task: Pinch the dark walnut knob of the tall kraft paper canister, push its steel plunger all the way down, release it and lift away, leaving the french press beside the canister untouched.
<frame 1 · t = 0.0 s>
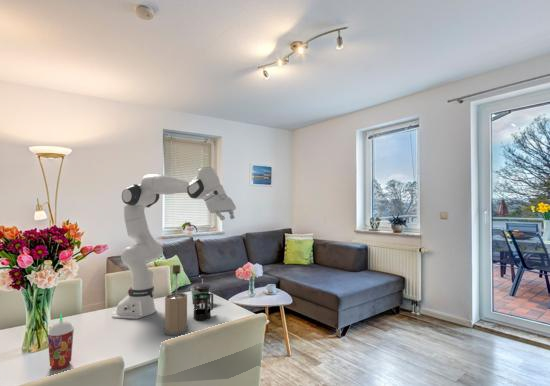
hand: (228, 219, 154), 54 cm above the table, tool tilted 30°, fingers open, 8 cm apart
plunger: (176, 282, 150), point 24 cm above the table, slide at 0.0 cm
smoothie: (60, 366, 119), on the table
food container: (199, 304, 188), on the table
kraft paper canister: (176, 330, 150), on the table
french press: (203, 317, 167), on the table
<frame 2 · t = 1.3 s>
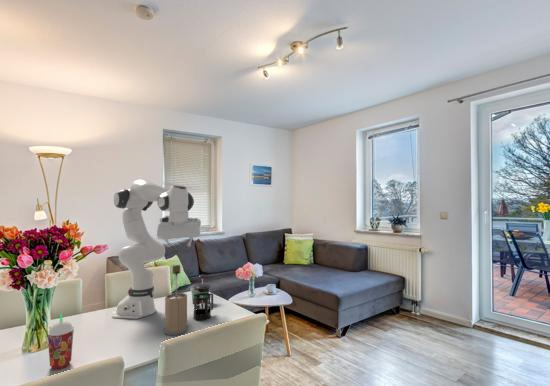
hand: (179, 246, 151), 41 cm above the table, tool pointing down, fingers open, 8 cm apart
nothing on the table moved.
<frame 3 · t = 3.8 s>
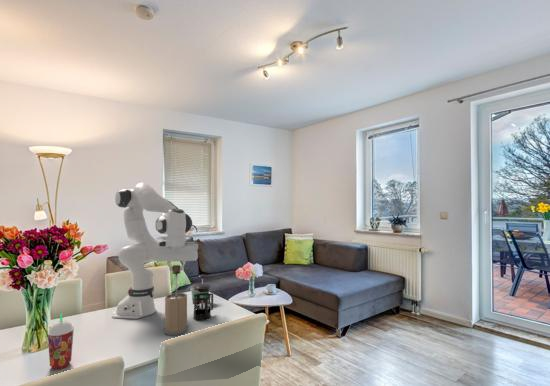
hand: (176, 270, 150), 30 cm above the table, tool pointing down, fingers closed on plunger, 4 cm apart
plunger: (176, 282, 150), point 24 cm above the table, slide at 0.0 cm, touching gripper
everything else where it was.
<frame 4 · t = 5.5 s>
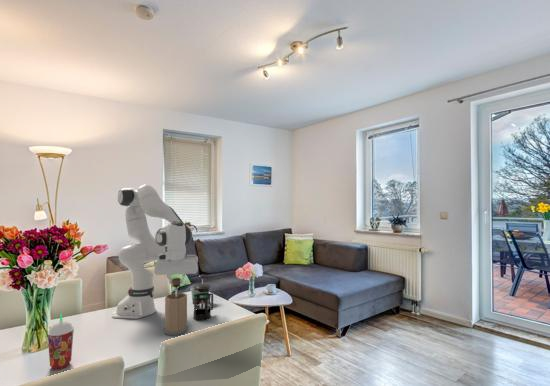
hand: (176, 283, 150), 23 cm above the table, tool pointing down, fingers closed on plunger, 4 cm apart
plunger: (176, 295, 150), point 17 cm above the table, slide at 6.3 cm, touching gripper
everything else where it was.
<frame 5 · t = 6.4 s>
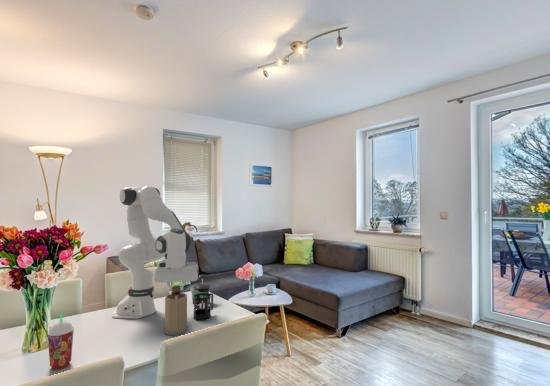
hand: (176, 290, 150), 20 cm above the table, tool pointing down, fingers closed on plunger, 4 cm apart
plunger: (176, 302, 150), point 14 cm above the table, slide at 10.0 cm, touching gripper
everything else where it was.
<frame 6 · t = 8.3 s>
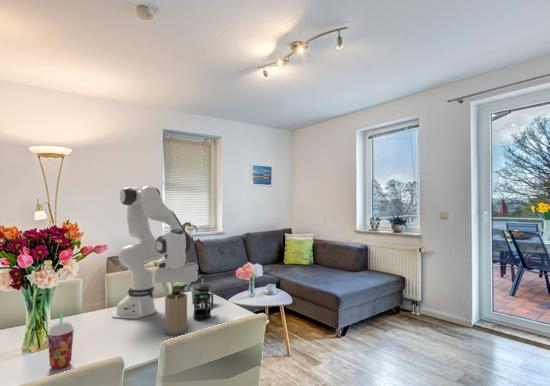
hand: (176, 291, 150), 19 cm above the table, tool pointing down, fingers open, 8 cm apart
plunger: (176, 302, 150), point 14 cm above the table, slide at 10.1 cm
everything else where it was.
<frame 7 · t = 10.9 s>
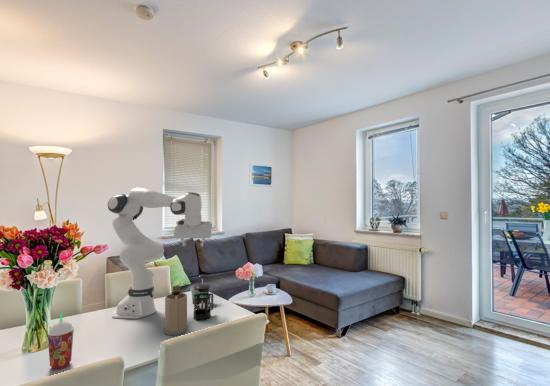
hand: (193, 246, 171), 38 cm above the table, tool pointing down, fingers open, 8 cm apart
nothing on the table moved.
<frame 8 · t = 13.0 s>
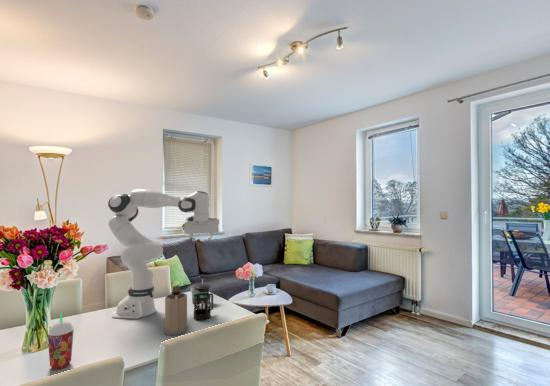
hand: (201, 241, 184), 39 cm above the table, tool pointing down, fingers open, 8 cm apart
nothing on the table moved.
at the end: plunger slide at 10.1 cm; french press moved 0.2 cm from its start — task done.
